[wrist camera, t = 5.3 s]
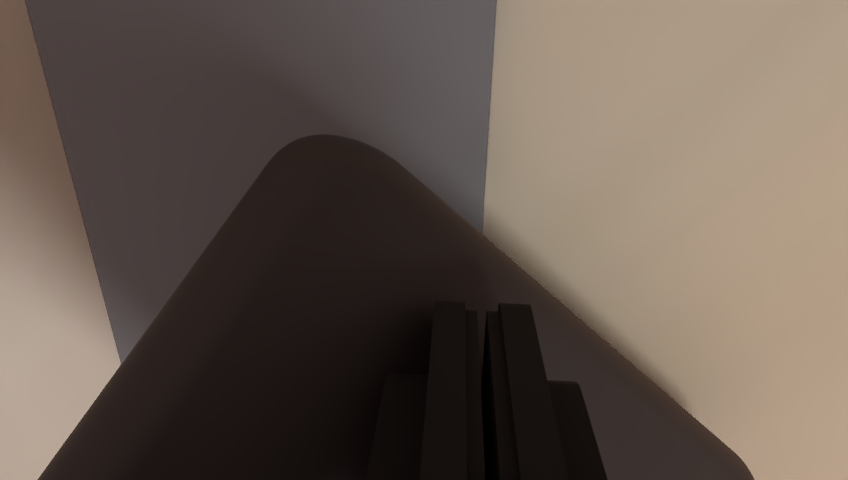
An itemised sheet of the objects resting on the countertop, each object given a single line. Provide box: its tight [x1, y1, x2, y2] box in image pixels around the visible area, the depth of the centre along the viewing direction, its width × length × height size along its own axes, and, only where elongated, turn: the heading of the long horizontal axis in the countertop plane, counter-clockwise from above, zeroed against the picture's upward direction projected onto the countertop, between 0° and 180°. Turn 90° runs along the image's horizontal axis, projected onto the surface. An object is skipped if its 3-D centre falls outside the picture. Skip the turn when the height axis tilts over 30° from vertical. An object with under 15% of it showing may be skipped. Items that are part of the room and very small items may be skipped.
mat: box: [25, 0, 497, 364], centre depth 15 cm, size 11×16×1 cm
